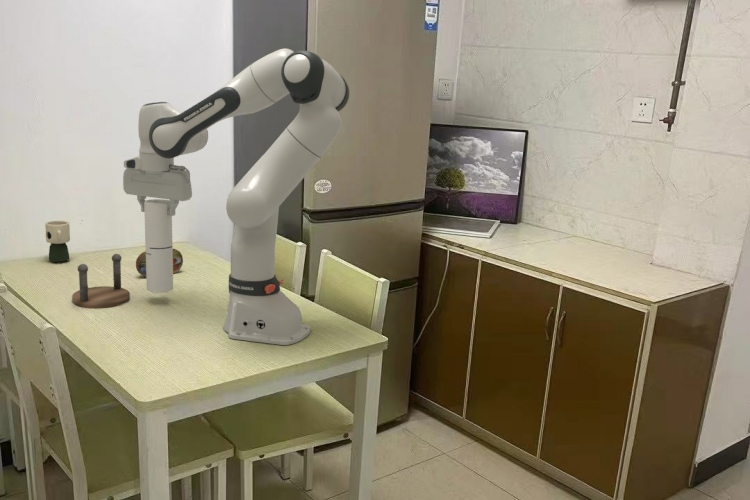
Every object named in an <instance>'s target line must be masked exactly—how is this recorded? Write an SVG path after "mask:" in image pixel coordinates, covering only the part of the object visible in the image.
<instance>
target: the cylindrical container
mask: <svg viewBox="0 0 750 500" xmlns="http://www.w3.org/2000/svg"><path fill="white" fill-rule="evenodd" d="M170 207H171V203H170V199H162V198H156V199H155V198H154V199H147V200H146V199H145V201H144V211H145V212H144V236H145V237H144V241H145V251H146V277H145V278H146V291H147V292H149V293H154V294H164V293H165V294H166V293H169V292H172V291H173V290H174V274H173V249H174V248H173V216H169V215H167V209H170Z"/></svg>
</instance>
